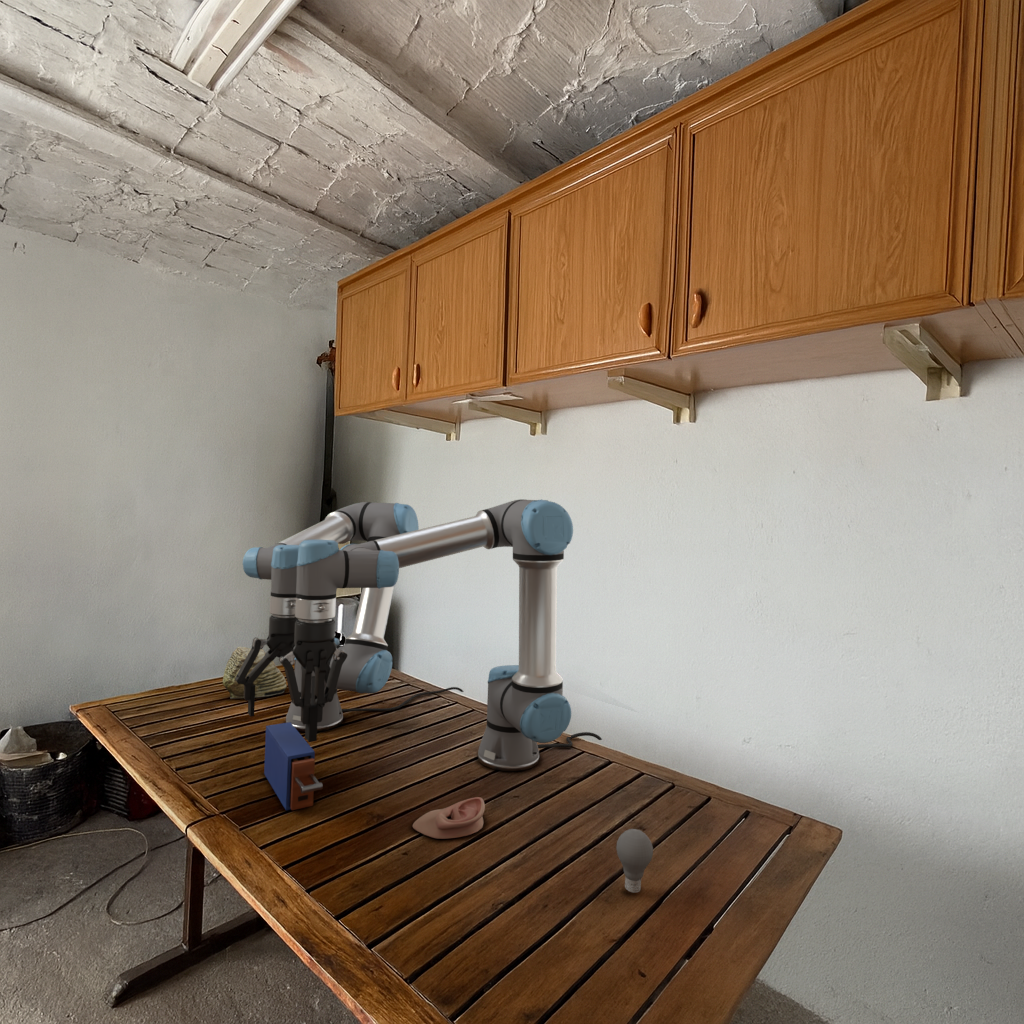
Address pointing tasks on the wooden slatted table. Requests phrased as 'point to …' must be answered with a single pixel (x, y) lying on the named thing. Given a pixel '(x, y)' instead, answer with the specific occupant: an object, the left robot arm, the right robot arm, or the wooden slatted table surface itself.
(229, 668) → the fossil
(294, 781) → the drawer
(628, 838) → the light bulb
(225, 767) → the wooden slatted table surface
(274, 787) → the cabinet
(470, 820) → the anatomical model
